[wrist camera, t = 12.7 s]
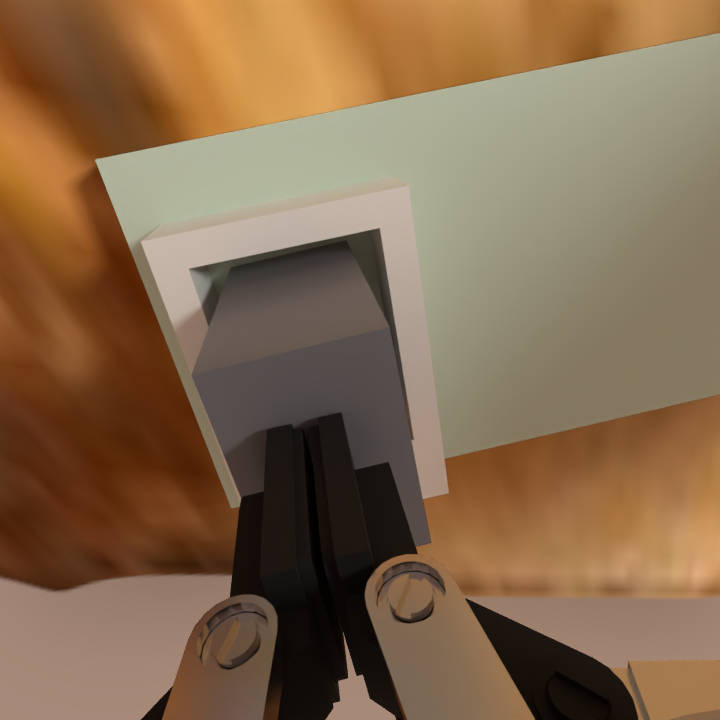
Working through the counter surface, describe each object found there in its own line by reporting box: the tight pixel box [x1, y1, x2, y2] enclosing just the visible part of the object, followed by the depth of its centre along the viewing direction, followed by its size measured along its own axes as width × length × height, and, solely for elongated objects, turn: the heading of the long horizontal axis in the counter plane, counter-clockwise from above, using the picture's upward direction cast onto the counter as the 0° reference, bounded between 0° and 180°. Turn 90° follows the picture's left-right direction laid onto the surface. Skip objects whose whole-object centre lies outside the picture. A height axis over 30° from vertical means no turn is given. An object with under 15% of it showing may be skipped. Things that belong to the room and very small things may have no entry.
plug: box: [191, 240, 431, 547], centre depth 15 cm, size 4×8×8 cm, turn 12°
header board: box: [95, 33, 720, 509], centre depth 18 cm, size 22×14×4 cm, turn 101°
